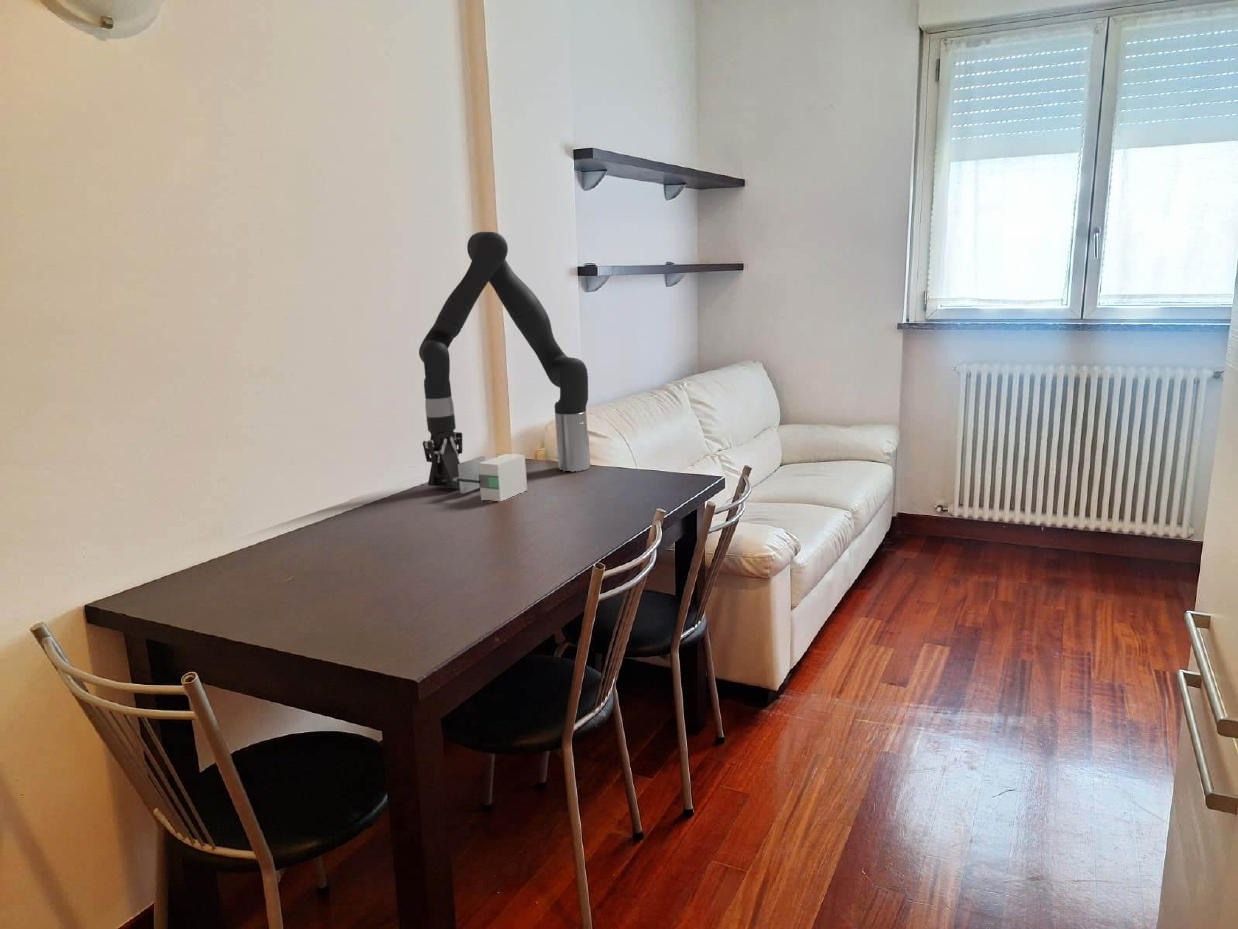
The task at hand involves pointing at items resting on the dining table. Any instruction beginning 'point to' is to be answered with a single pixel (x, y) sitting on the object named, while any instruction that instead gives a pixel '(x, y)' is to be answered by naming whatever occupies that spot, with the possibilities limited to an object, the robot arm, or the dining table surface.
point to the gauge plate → (469, 474)
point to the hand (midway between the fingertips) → (446, 473)
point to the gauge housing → (502, 477)
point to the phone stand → (446, 469)
